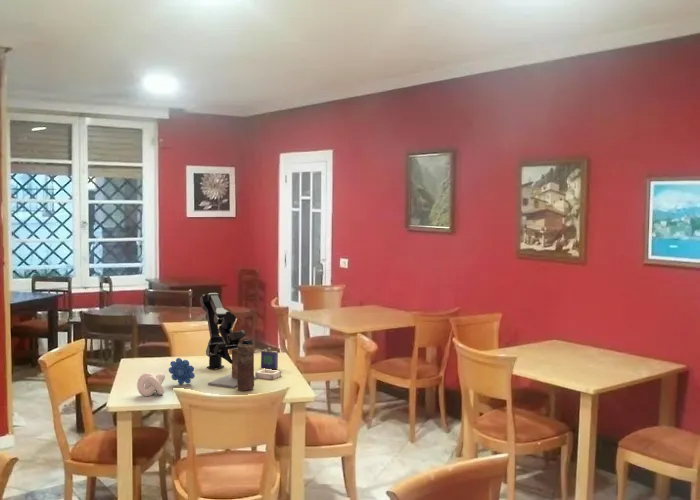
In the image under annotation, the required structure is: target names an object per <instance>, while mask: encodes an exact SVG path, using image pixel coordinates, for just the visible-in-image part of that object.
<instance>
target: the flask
mask: <svg viewBox="0 0 700 500" xmlns="http://www.w3.org/2000/svg"><path fill="white" fill-rule="evenodd" d="M271 349H272V347H267V349H266V348H264V349H262V350H261V351H260V355H261V357H260V369H262V368H265V369H270V370H272V369H277V370H278V368H279V367H278V366H279V365H278V362H279V361H278V359H279V358H278V357H279V352H278V351H276V350H271Z"/></svg>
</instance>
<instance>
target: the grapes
mask: <svg viewBox="0 0 700 500" xmlns="http://www.w3.org/2000/svg"><path fill="white" fill-rule="evenodd" d="M169 365H170V366H169V368H168V373H170V374H171V380H173V381H177V383H178V384H179V385H183V384H184V383H185V384H188V385H189V384H190V383H191V382H192V381H191V380H192V379H195V376H196V374H195V373H194V371H195V367H194V366H193V365H192V364H190V362H189V360H188V359H182V358H181V357H178V358H176V360H171V361H170V363H169Z"/></svg>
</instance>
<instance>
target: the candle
mask: <svg viewBox="0 0 700 500" xmlns="http://www.w3.org/2000/svg"><path fill="white" fill-rule="evenodd" d="M254 348H255V347H254V345H253V344H252V345H250V344H247V345H246V344H241V343H238V348H237V349H238V369H237V371H238V372H237V391H240V392H241V391H247V390H249V391H250V390H253V388H255V380H254V376H255V368H254V367H255V364H254V363H255V349H254Z"/></svg>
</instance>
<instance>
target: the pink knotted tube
mask: <svg viewBox="0 0 700 500" xmlns="http://www.w3.org/2000/svg"><path fill="white" fill-rule="evenodd" d="M165 379H166V375H165V373H163V372H160V373H157V375H156V376H155V375H154V374H153V373H151V372H145V373H142V374H141V375H140V376H139V378H138V379H137V384H136V386H137V387H136V388H137V391H138V393H139V394H140V395H141V396H143V397H151V396H152V395H153V394H155V392H156V394H157V395H158V396H163V395H164V394H165V388H164V386H163V385H162V384H163V383H164V381H165Z"/></svg>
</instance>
